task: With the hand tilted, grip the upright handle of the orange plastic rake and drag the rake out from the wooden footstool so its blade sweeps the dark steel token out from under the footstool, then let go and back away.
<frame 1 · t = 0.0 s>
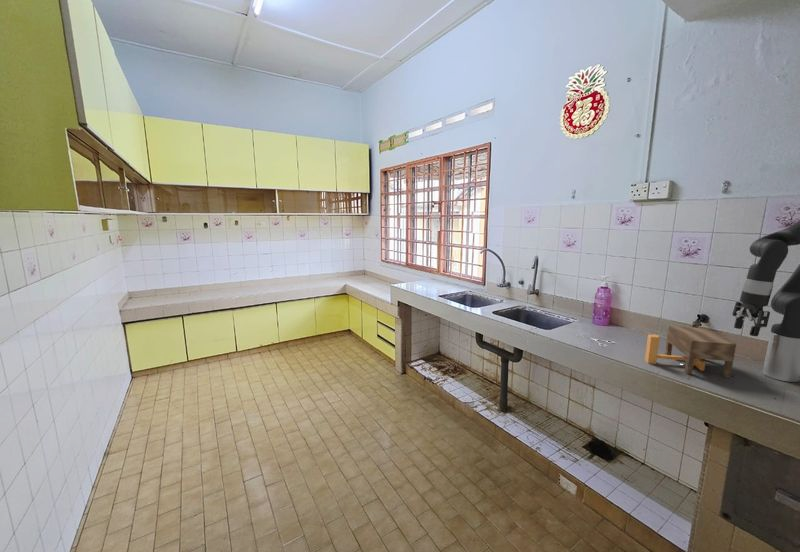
hand: (745, 332, 128), 17 cm above the worktop, tool pointing down, fingers open, 8 cm apart
wooden footstool: (694, 366, 138), on the worktop
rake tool: (650, 362, 142), on the worktop
steel token: (686, 366, 138), on the worktop
scissors: (593, 340, 168), on the worktop
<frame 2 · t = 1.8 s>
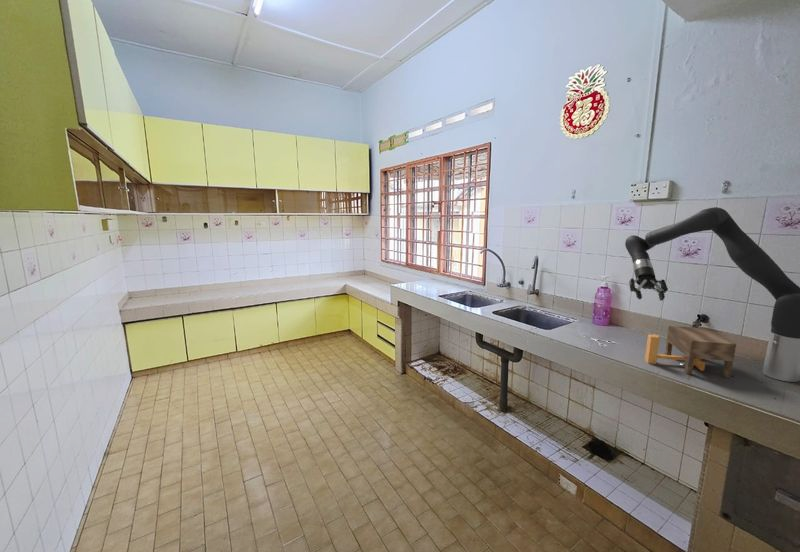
hand: (651, 299, 151), 24 cm above the worktop, tool tilted 45°, fingers open, 8 cm apart
nothing on the worktop moved.
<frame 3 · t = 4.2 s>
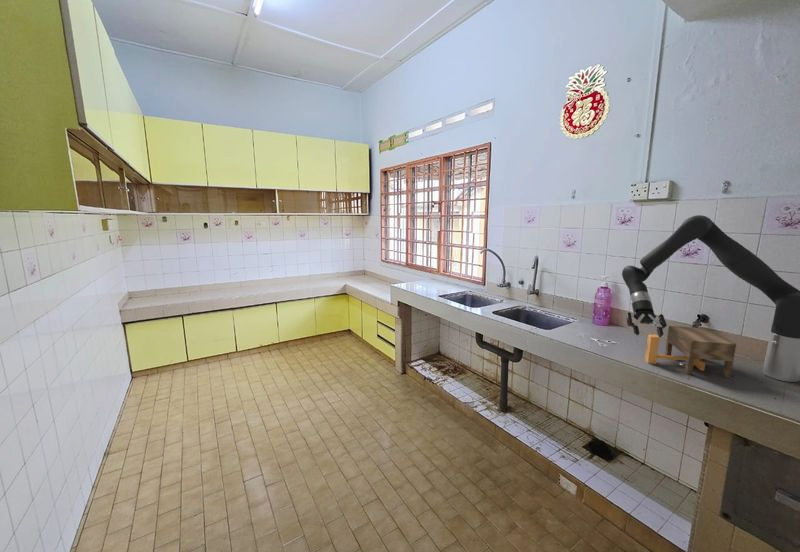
hand: (649, 335, 144), 11 cm above the worktop, tool tilted 45°, fingers open, 8 cm apart
nothing on the worktop moved.
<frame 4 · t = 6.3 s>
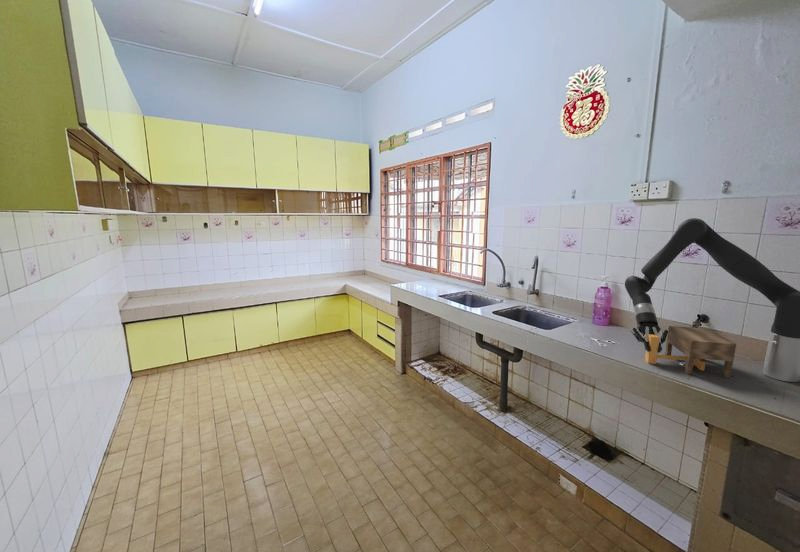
hand: (654, 351, 139), 6 cm above the worktop, tool tilted 45°, fingers closed on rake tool, 3 cm apart
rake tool: (650, 362, 142), on the worktop, touching gripper
everything else where it was.
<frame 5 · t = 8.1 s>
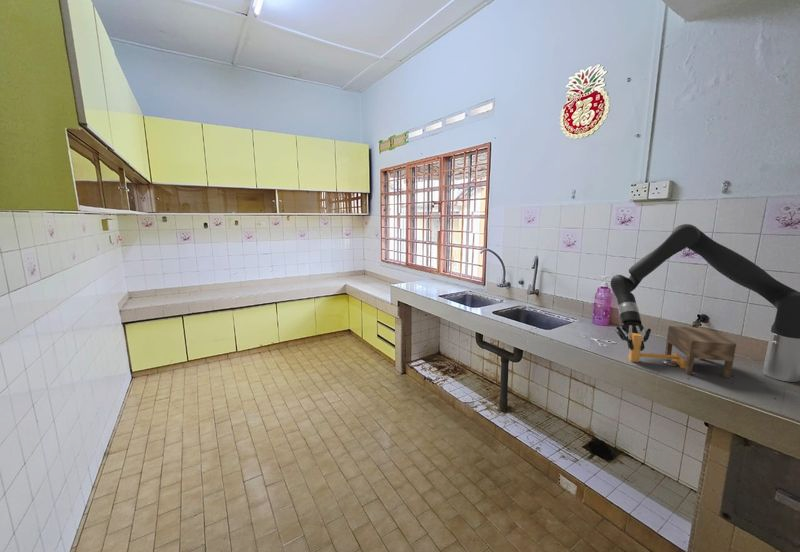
hand: (637, 349, 141), 6 cm above the worktop, tool tilted 45°, fingers closed on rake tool, 3 cm apart
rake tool: (633, 360, 144), on the worktop, touching gripper
steel token: (669, 363, 140), on the worktop
everything else where it was.
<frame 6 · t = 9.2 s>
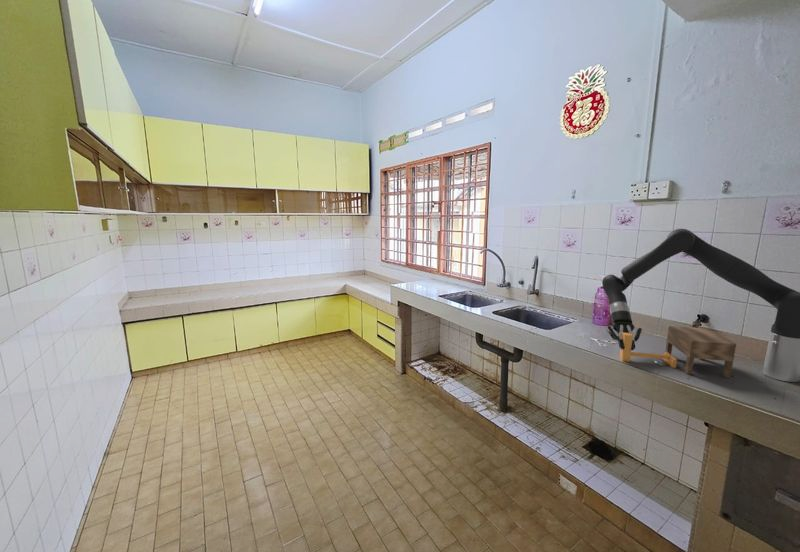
hand: (627, 349, 142), 6 cm above the worktop, tool tilted 45°, fingers closed on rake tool, 3 cm apart
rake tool: (624, 359, 145), on the worktop, touching gripper
steel token: (660, 363, 141), on the worktop
everything else where it was.
when the fingers open (6 cm above the worktop, at t = 10.1 s): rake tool stays where it is, on the worktop.
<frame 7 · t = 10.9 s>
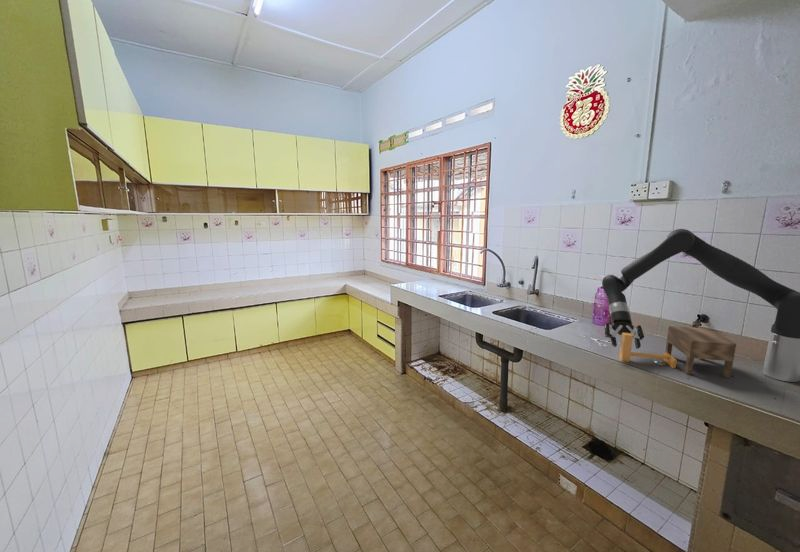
hand: (626, 347, 142), 6 cm above the worktop, tool tilted 45°, fingers open, 8 cm apart
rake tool: (624, 359, 145), on the worktop
everything else where it was.
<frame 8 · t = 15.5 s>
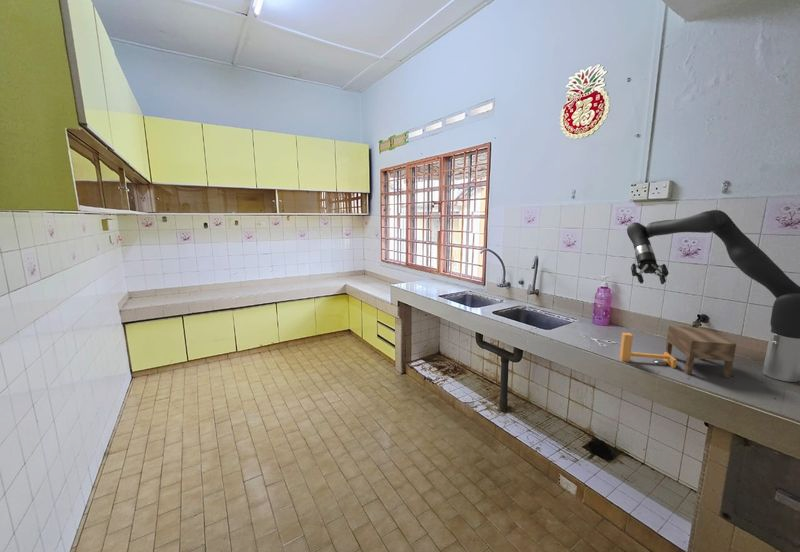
hand: (652, 283, 155), 31 cm above the worktop, tool tilted 45°, fingers open, 8 cm apart
nothing on the worktop moved.
at the end: steel token inside the target area (4.1 cm from its centre), on the worktop; the gripper is holding nothing; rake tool tilted 0° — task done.
